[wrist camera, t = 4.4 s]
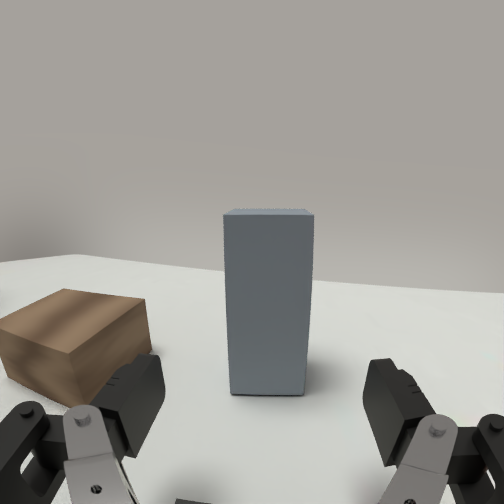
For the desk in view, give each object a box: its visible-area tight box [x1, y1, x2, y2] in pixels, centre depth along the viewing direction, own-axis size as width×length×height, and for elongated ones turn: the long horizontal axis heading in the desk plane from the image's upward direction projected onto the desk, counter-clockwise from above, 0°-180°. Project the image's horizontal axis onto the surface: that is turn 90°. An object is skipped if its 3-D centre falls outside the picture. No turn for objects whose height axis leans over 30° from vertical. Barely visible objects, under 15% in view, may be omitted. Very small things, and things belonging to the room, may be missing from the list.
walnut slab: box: [0, 289, 152, 408], centre depth 21 cm, size 10×10×5 cm
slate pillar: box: [223, 209, 314, 395], centre depth 20 cm, size 5×5×12 cm
